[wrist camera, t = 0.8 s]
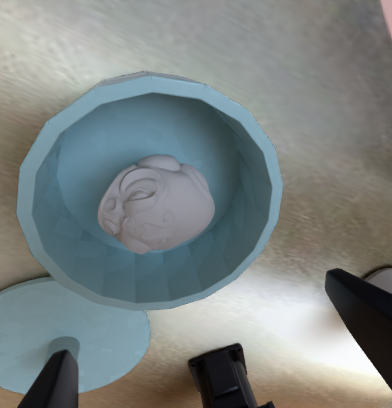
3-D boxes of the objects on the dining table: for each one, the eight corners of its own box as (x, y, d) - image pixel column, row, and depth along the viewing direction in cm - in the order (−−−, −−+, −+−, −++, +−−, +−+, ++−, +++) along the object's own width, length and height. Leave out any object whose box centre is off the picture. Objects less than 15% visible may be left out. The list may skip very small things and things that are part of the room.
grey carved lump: (108, 132, 18) (98, 169, 12) (209, 148, 20) (243, 186, 14) (102, 212, 20) (91, 277, 14) (192, 219, 22) (215, 279, 16)
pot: (253, 228, 25) (286, 273, 20) (93, 276, 23) (83, 336, 18) (235, 49, 18) (279, 45, 12) (3, 102, 16) (-55, 122, 11)
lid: (166, 354, 30) (173, 412, 25) (25, 401, 29) (4, 471, 24) (121, 249, 23) (118, 301, 18) (-74, 304, 21) (-135, 378, 16)
